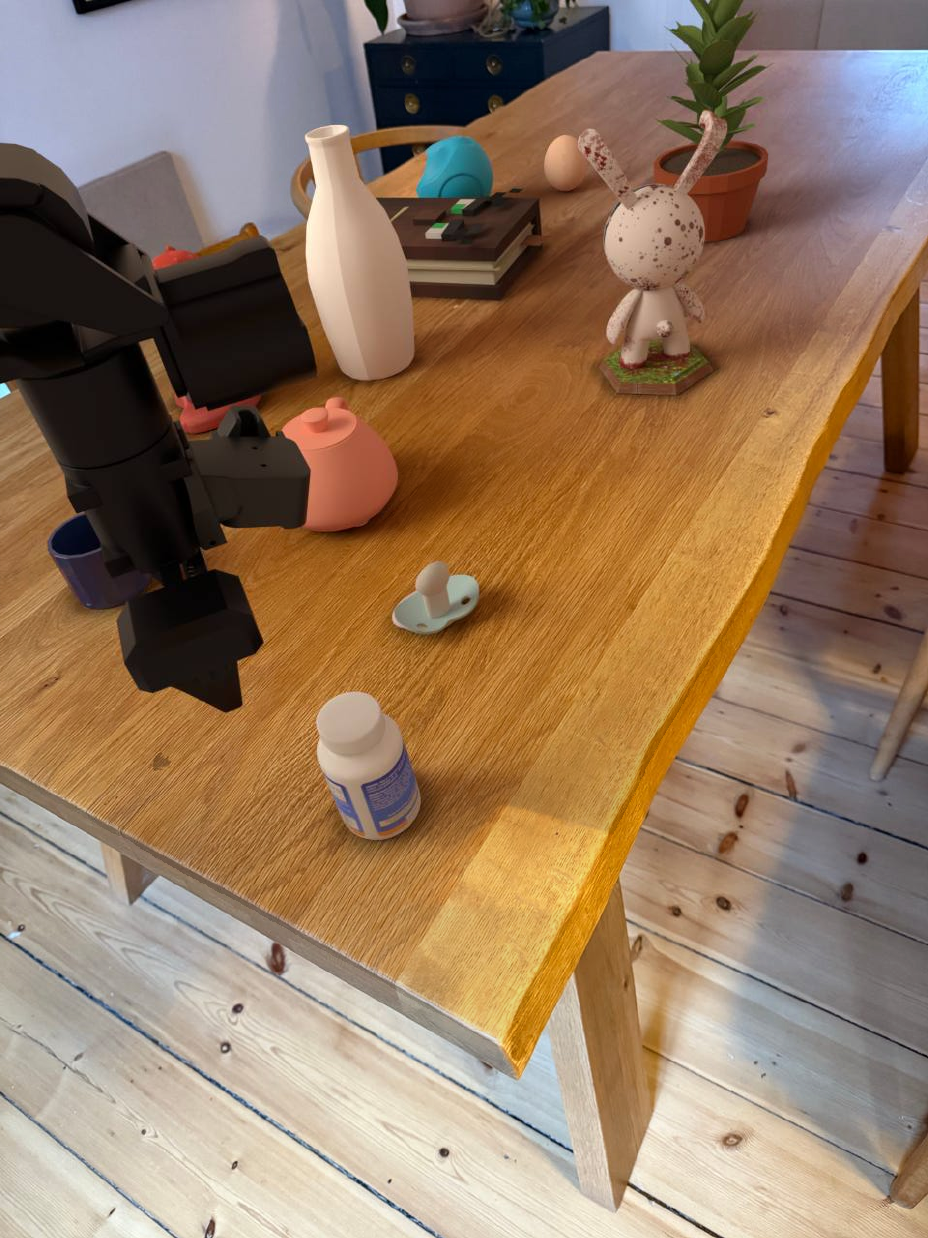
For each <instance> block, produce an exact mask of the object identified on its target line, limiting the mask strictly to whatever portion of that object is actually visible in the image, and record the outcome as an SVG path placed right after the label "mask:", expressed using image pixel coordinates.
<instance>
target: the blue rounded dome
mask: <svg viewBox="0 0 928 1238" xmlns="http://www.w3.org/2000/svg"><path fill="white" fill-rule="evenodd" d="M425 154H426V157H427V159H426V163H425V167H424V171H423V174H422V175H421V177H420V179H419V181H418V182H417V185H416V188H415V192H416V195H417V198H478V197H479V196H491V193H492V191H493V185H494V172H493V166H492V163H491V160H490V158H489V156H488V154H487V152H486V151H485V149H484V147H482V146H481V144H480V143H478V141H476V140H475V139H474V138H472V137H471V136H468V135H466V136H465V137H464V136H463V135H461V134H459V135H454V136H449V137H446V138H443V139H441V140H438V141H437V142H435V143H433V144H432V145H430V146H429V147H427V149H426V150H425Z"/></svg>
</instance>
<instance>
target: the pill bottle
mask: <svg viewBox="0 0 928 1238" xmlns="http://www.w3.org/2000/svg"><path fill="white" fill-rule="evenodd" d="M315 725H316V729H317V732H318V736H319V739H318V742H317V746H316V747H317V748H316V758H317V761H318V764H319V766H320V769H321V772H322V774H323V776H324V779H325V781H326V784H327V786H328V788H329V790H330V793H331V796H332V797H333V800H334V803H335V805H336V807H337V810H338V812H339V814H340V817H341V819H342V820H343V823H344V825H345V826H346V827H347V828H348V830H350V832H352V834H354V835H356V836H358V837H360V838H362V839H366V840H371V841H379V840H380V841H383V840H387V839H392V838H393V837H396V836H398V835H400V834H401V833H402V832H404V831H406V830H407V829H408V828H409V827H410V826H411V825H412V823H414V821H415V820H416V818H417V816H418V814H419V812H420V809H421V802H422V801H421V800H422V799H421V793H420V789H419V784H418V781H417V779H416V776H415V772H414V769H413V766H412V763H411V760H410V757H409V754H408V750H407V747H406V744H405V741H404V737H403V734H402V730H401V729H400V726H399V725H398V724H397V723H396V721H395V720H394V718H392V717H390V716H389V715H388V714H386V713H385V712H383V709H382V707H381V704H380V703H379V701H378V700H377V699H376V698H375V696H372V695H371V694H369V693H366V692H362V691H347V692H343V693H339V694H338V695H336V696H334V697H332V698H330V699H329V700H328V701H326V702H325V703H324V704H323V706H322V707H321V708H320V710H319V711H318V714H317V716H316V722H315Z"/></svg>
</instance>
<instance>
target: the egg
mask: <svg viewBox="0 0 928 1238" xmlns="http://www.w3.org/2000/svg"><path fill="white" fill-rule="evenodd" d="M578 140H579V139H578V138H576V137H574V136H572V135H569V134H563V135H559V136H558V137H556V138H555V139H554V140H553V141H552V142H551V143H550V145H549V147H548V148H547V151H546V154H545V155H544V156H545V157H544V162H543V163H544V164H543V167H544V168H543V169H544V175H545V178H546V180H547V181H548V183H549V184H550V185H551V187H553V188H554V189H556V190H558V191H560V192H570V191H573V190H574V189H576V188H577V187H579V186H580V185H581V183H582V182H583V180H584V179H585V177H586V174H587V171H588V160H587V158H586V157H585V156H584V155H583V154H582V153H581V151H580V150H579V146H578Z"/></svg>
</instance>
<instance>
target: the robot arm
mask: <svg viewBox="0 0 928 1238" xmlns="http://www.w3.org/2000/svg"><path fill="white" fill-rule="evenodd" d="M198 257H199V258H195V259H192V260H188V261H185V262H181V263H177V264H174V265H170V266H167V267H163V268H160V269H156V270H154V268H153V265H152V260H151V257H150V255H149V253H147V252H146V251H145V250H143V249H142V248H140V247H139V246H138V245H136V244H135V243H133V242H132V241H131V240H129V239H128V238H126V237H124V236H123V235H122V234H121V233H120V232H118V231H116V230H115V229H114V228H112V227H111V226H109V225H108V224H107V223H105V222H104V221H103V220H101V219H100V218H98V217H97V216H95V215H94V214H93V213H91V212H89V211H88V210H87V207H86V205H85V203H84V201H83V198H82V196H81V194H80V191H79V190H78V187H77V186H76V185H75V183H74V182H73V180H71V178H70V177H68V175H67V174H66V173H65V172H64V171H63V170H62V168H61V167H60V166H58V165H57V164H55V163H54V162H52V161H51V160H49V159H48V158H46V157H45V156H44V155H43V154H41V153H40V152H39V153H38V152H37V150H35V149H34V148H31V147H27V146H24V145H22V144H17V143H11V142H10V143H8V142H0V385H3V384H6V383H9V382H14V384H15V386H16V387H17V390H18V391H19V393H20V395H21V397H22V398H23V400H24V403H25V404H26V406H27V408H28V410H29V412H30V414H31V416H32V418H33V419H34V422H35V423H36V425H37V427H38V428H39V430H40V433H41V434H42V436H43V438H44V440H45V442H46V443H47V445H48V447H49V449H50V451H51V453H52V454H53V456H54V458H55V460H56V462H57V464H58V466H59V468H60V470H61V471H62V473H63V476H64V482H65V491H66V496H67V499H68V501H69V503H70V505H71V507H72V508H73V510H74V512H75V515H77V514H80V513H83V512H85V514H86V516H87V518H88V520H89V522H90V523H91V525H92V527H93V529H94V531H95V533H96V535H97V536H98V538H99V540H100V542H101V543H100V546H101V551H102V557H103V563H104V565H105V567H106V569H107V571H108V572H109V574H110V576H111V578H115V577H118V576H120V575H123V574H126V573H129V572H132V571H134V570H137V571H138V573H139V574H148V573H150V574H151V575H152V578H154V579H155V580H156V581H157V582H158V583H159V584H160V585H161V586H162V587H160V588H158V589H155V590H152V591H149V592H146V593H143V594H141V595H140V594H139V595H137V596H136V597H134V598H132V599H129V600H127V602H126V603H124V604H123V608H122V609H121V611H120V613H119V615H118V617H117V619H116V620H115V621H116V626H117V633H118V638H119V643H120V649H121V654H122V661H123V665H124V667H125V668H126V670H127V671H128V673H129V675H130V677H131V679H132V680H133V682H134V683H135V685H136V687H137V688H138V690H139V691H141V692H145V693H149V694H155V693H157V692H160V691H163V690H165V689H168V688H170V687H171V688H172V689H176V690H178V691H180V692H182V693H184V694H186V695H189V696H190V697H193V698H194V699H197V700H199V701H201V702H203V703H204V704H207V705H208V706H211V707H212V708H215V709H216V710H219V711H220V712H222V713H225V714H226V713H231V712H233V711H236V710H239V709H240V708H242V706H243V705H244V703H243V695H242V688H241V679H240V672H239V664H238V661H241V660H243V659H246V658H249V657H252V656H254V655H256V654H257V653H258V652H259V650H260V649H261V648H262V646H263V645H264V643H265V642H264V639H263V636H262V633H261V630H260V628H259V624H258V622H257V620H256V617H255V615H254V611H253V609H252V606H251V604H250V602H249V601H250V600H249V599H248V598H249V597H248V596H247V594H246V591H245V589H244V586H243V583H242V581H241V579H240V577H239V575H235V574H234V573H230V572H227V571H223V570H220V569H217V568H213V569H210V570H209V566H208V564H207V560H206V557H205V554H204V551H209V550H212V549H215V548H217V547H221V546H223V545H225V544H228V540H227V537H226V535H225V532H224V530H223V527H222V526H224V527H227V528H230V529H255V528H257V529H258V528H273V527H274V528H276V527H277V528H278V527H281V528H282V529H284V530H294V529H299V528H301V527H302V526H303V525H305V523H306V520H307V509H308V498H309V487H310V476H311V469H310V467H309V466H308V464H307V462H306V460H305V458H304V456H303V455H302V453H301V451H300V449H299V447H298V445H297V444H296V443H295V442H294V441H293V440H291V439H288V438H286V436H285V435H284V433H283V431H281V430H275V435H273V436H272V435H271V433H270V431H269V429H268V428H267V426H266V423H265V421H264V419H263V417H262V415H261V413H260V411H259V409H258V408H257V405H256V406H231V407H230V408H229V410H228V412H227V413H226V415H225V417H224V419H223V420H222V422H221V424H220V425H219V427H217V428H216V430H209V439H196V440H188V437H187V434H186V432H184V430H183V427H182V425H181V423H180V419H178V420H174V419H173V416H172V414H170V413H169V410H168V408H167V405H166V403H165V401H164V399H163V396H162V394H161V390H160V389H159V386H158V383H157V381H156V379H155V377H154V374H153V372H152V369H151V367H150V365H149V362H148V360H147V357H146V355H145V353H144V350H143V348H142V345H141V342H142V343H143V342H145V341H149V340H151V339H153V342H154V344H155V347H156V349H157V352H158V354H159V357H160V359H161V362H162V364H163V367H164V370H165V372H166V375H167V377H168V379H169V382H170V384H171V387H172V389H173V392H174V395H175V394H176V396H177V398H181V397H184V396H187V395H188V393H189V395H190V398H191V400H192V403H193V405H194V407H195V410H196V409H200V408H203V407H206V408H207V411H211V410H215V409H218V408H221V407H224V406H227V405H231V404H234V403H237V402H240V401H243V400H246V399H250V398H253V397H256V396H259V395H261V396H262V395H266V394H268V393H271V392H275V391H278V390H282V389H284V388H287V387H291V386H294V385H297V384H301V383H304V382H307V381H310V380H313V379H316V378H318V368H317V362H316V356H315V352H314V348H313V345H312V341H311V338H310V334H309V332H308V328H307V326H306V324H305V322H304V321H303V319H302V318H301V316H300V315H299V313H298V310H297V308H296V304H295V303H294V299H293V297H292V295H291V292H290V290H289V287H288V284H287V282H286V279H285V278H284V275H283V273H282V270H281V267H280V264H279V260H278V259H279V258H278V256H277V253H276V250H275V248H274V247H273V246H272V244H271V243H270V241H269V239H268V238H267V237H266V236H264V235H261V234H259V235H257V236H252V237H250V238H246V239H242V240H239V241H237V242H235V243H234V244H232V245H230V246H228V247H227V248H224V249H222V250H220V251H216V252H213V253H210V254H207V255H202V256H198Z"/></svg>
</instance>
